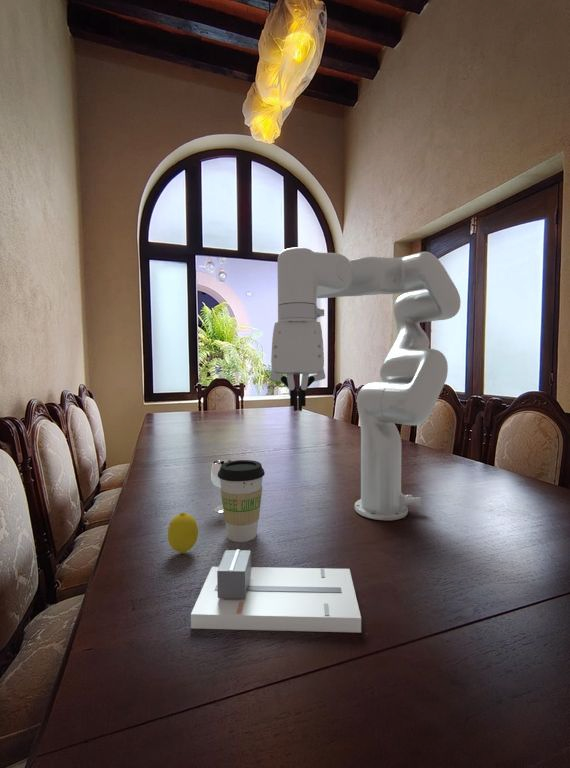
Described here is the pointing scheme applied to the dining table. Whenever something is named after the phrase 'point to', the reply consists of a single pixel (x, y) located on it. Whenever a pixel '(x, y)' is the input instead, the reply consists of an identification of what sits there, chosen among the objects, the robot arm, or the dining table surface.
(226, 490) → the coffee cup
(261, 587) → the fader board
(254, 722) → the dining table surface
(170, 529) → the lemon
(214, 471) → the wineglass
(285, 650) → the dining table surface
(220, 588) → the fader
